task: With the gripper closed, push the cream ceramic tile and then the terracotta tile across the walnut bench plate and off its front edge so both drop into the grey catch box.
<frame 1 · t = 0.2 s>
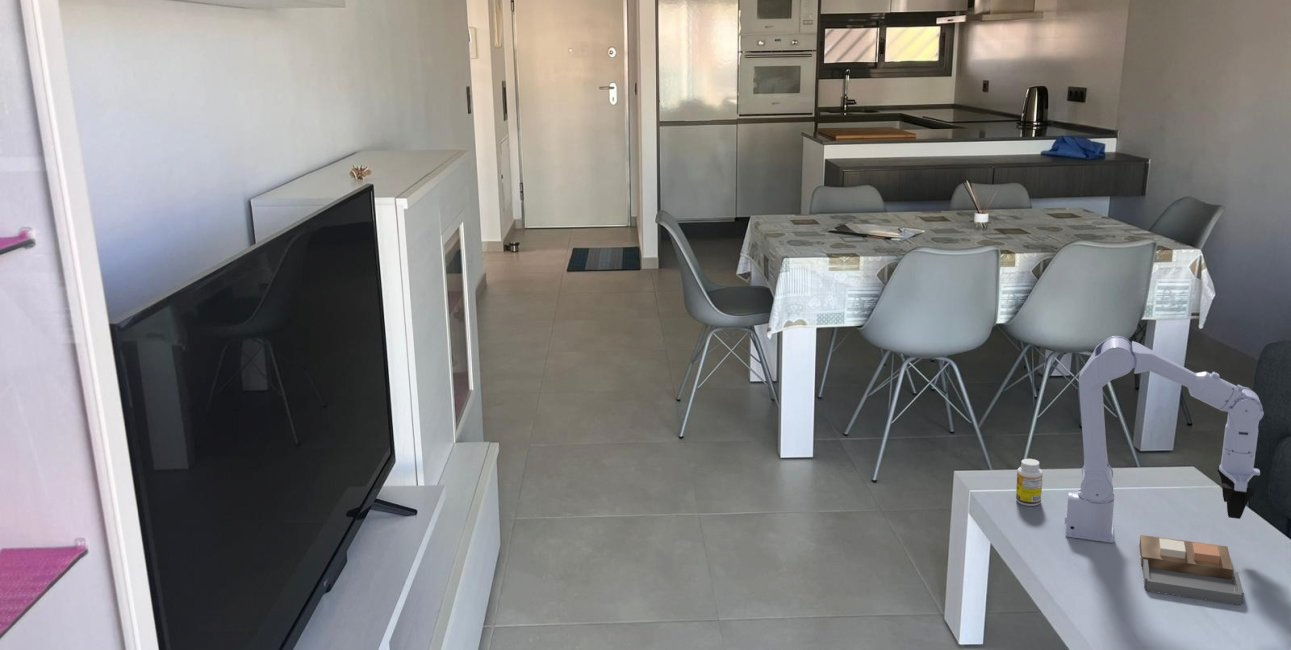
hand: (1231, 509, 200), 10 cm above the table, tool pointing down, fingers open, 7 cm apart
catch box: (1190, 585, 190), on the table
tile terracotta: (1205, 556, 196), point 2 cm above the table, touching bench plate
bench plate: (1183, 562, 199), on the table
supplement bottle: (1028, 502, 229), on the table
tile cream: (1171, 551, 198), point 2 cm above the table, touching bench plate
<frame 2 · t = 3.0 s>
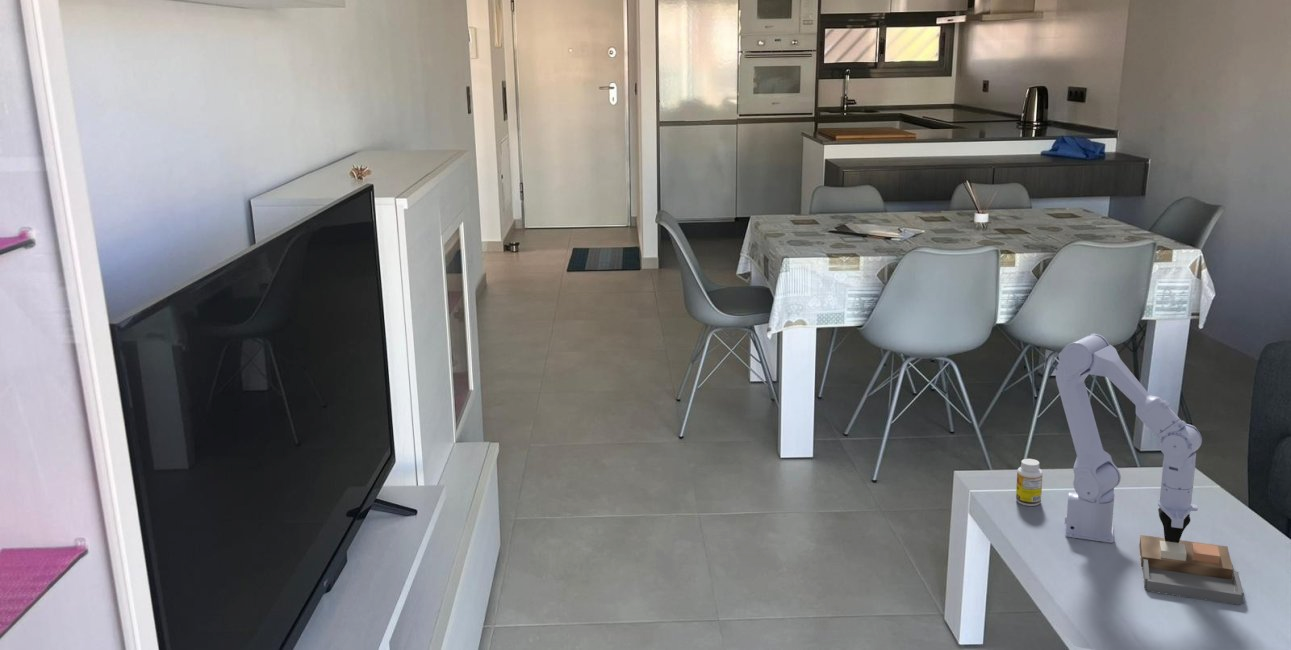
hand: (1171, 544, 200), 3 cm above the table, tool pointing down, fingers closed
tile cream: (1172, 554, 197), point 3 cm above the table
everything else where it was.
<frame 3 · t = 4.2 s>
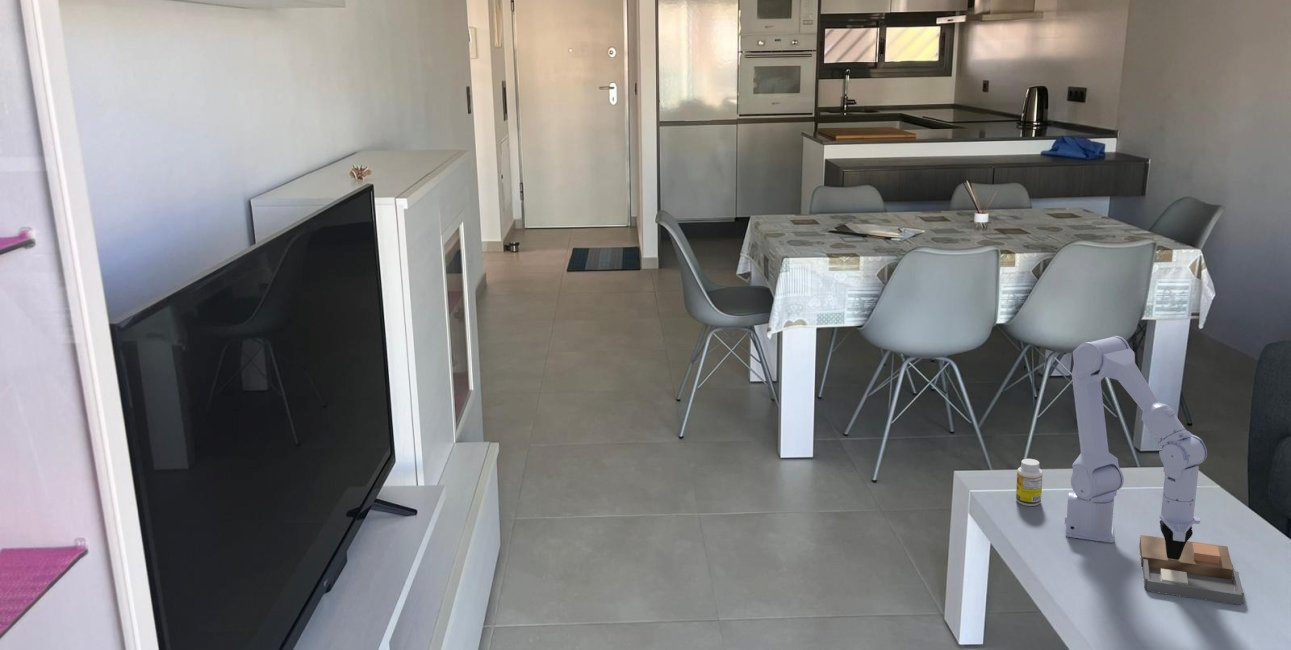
hand: (1172, 557, 195), 3 cm above the table, tool pointing down, fingers closed
tile cream: (1174, 575, 190), point 2 cm above the table, tilted 180°, touching catch box
everything else where it was.
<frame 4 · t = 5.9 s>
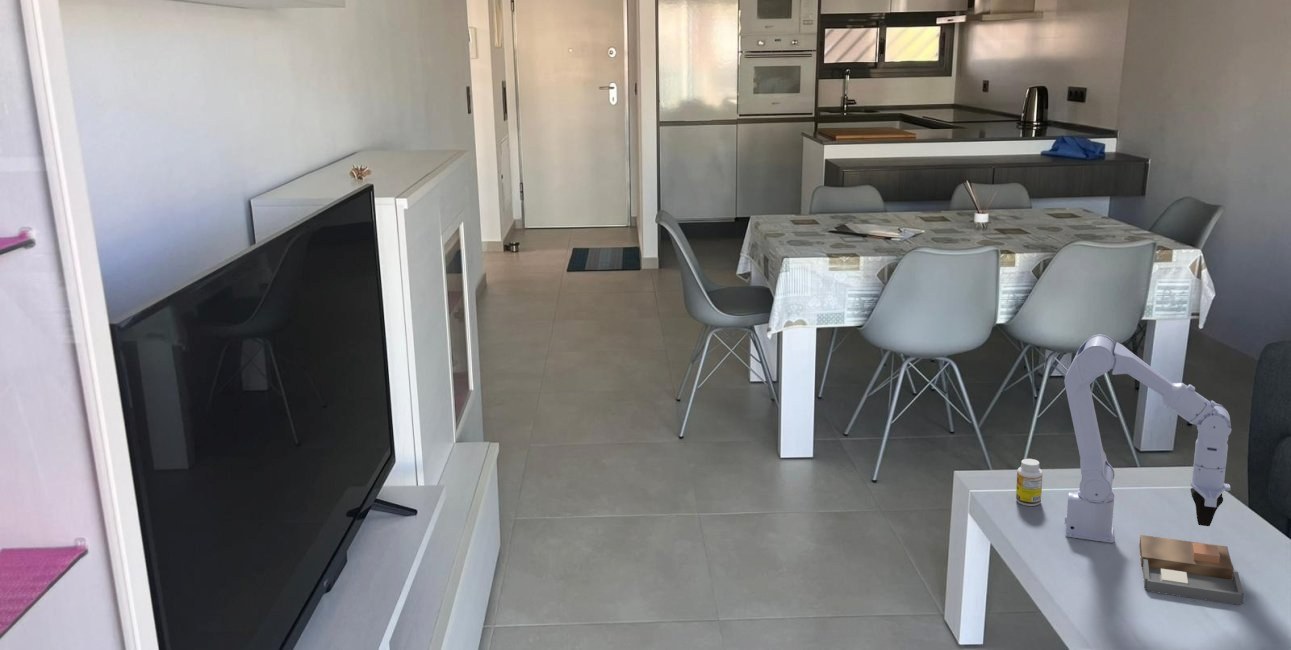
hand: (1203, 524, 201), 6 cm above the table, tool pointing down, fingers closed
nothing on the table moved.
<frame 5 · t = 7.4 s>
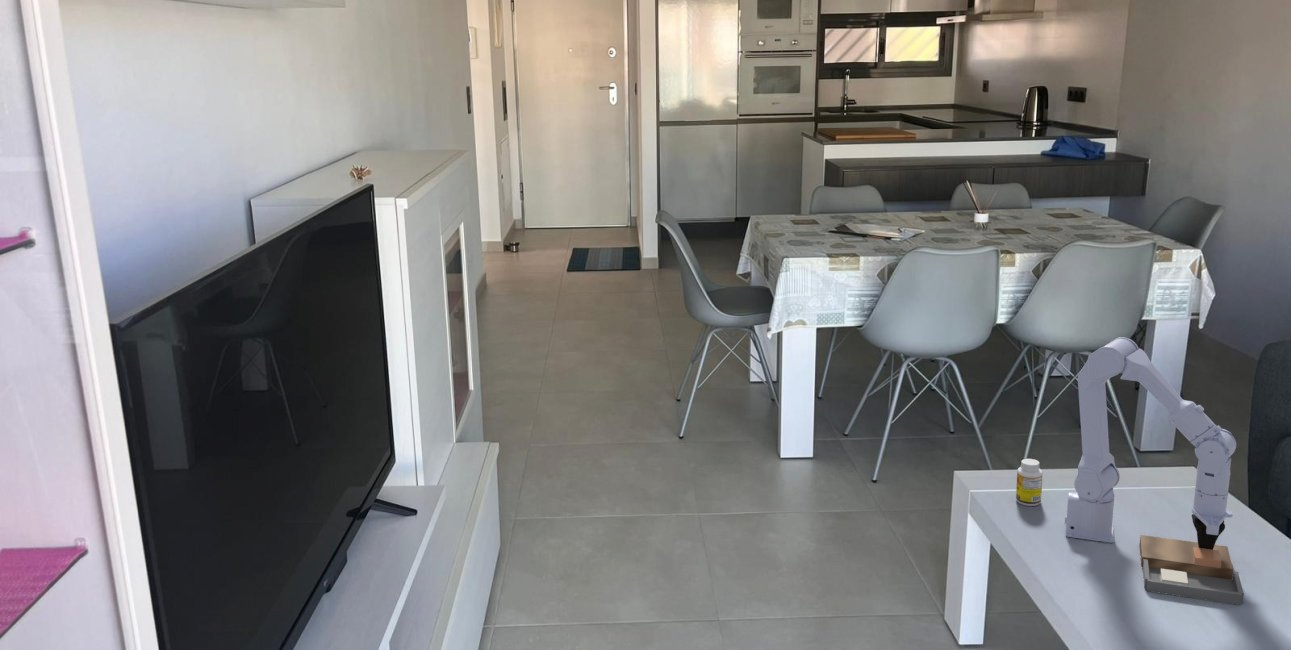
hand: (1204, 551, 197), 3 cm above the table, tool pointing down, fingers closed
tile terracotta: (1206, 561, 194), point 3 cm above the table, touching bench plate
everything else where it was.
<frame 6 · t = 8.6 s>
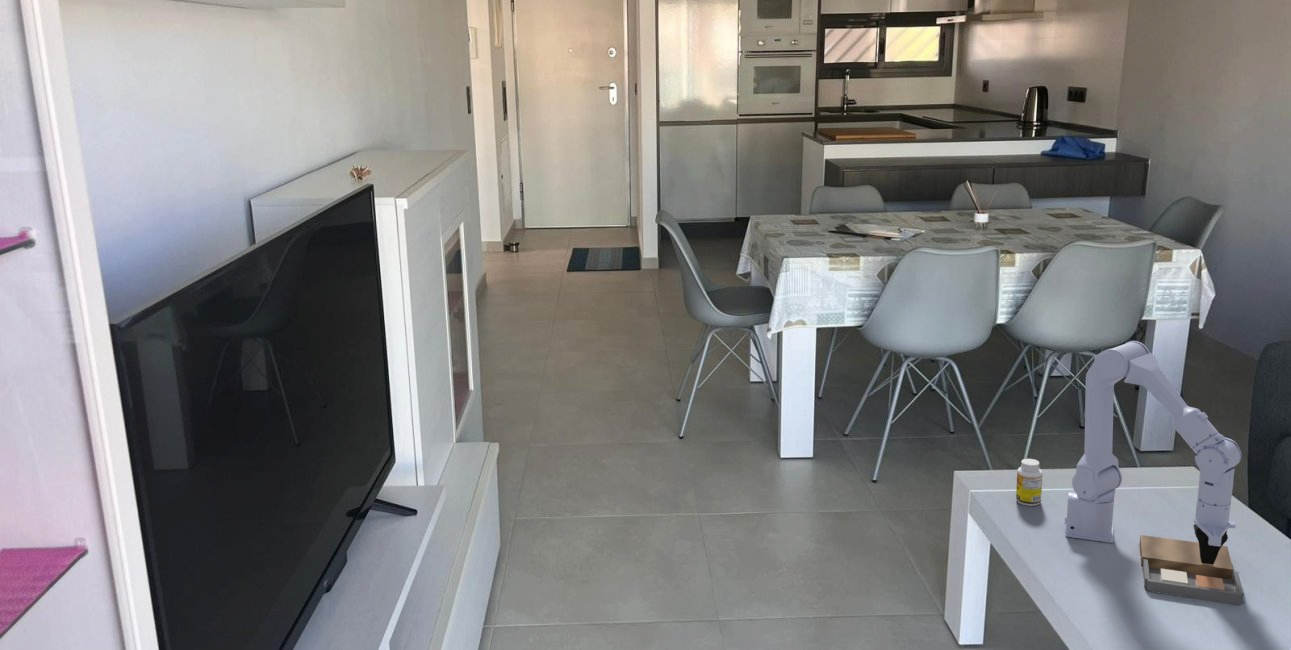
hand: (1207, 562, 193), 3 cm above the table, tool pointing down, fingers closed
tile terracotta: (1210, 582, 187), point 2 cm above the table, tilted 180°, touching catch box
everything else where it was.
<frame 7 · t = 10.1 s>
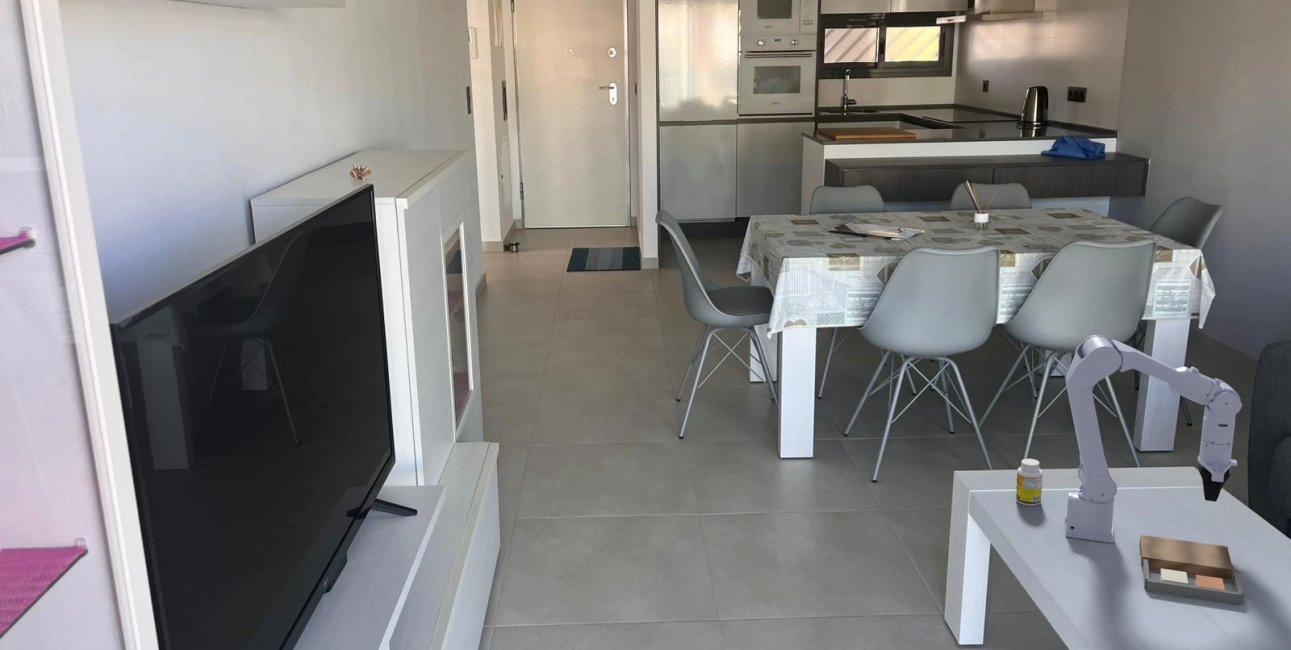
hand: (1210, 499, 205), 9 cm above the table, tool pointing down, fingers closed
nothing on the table moved.
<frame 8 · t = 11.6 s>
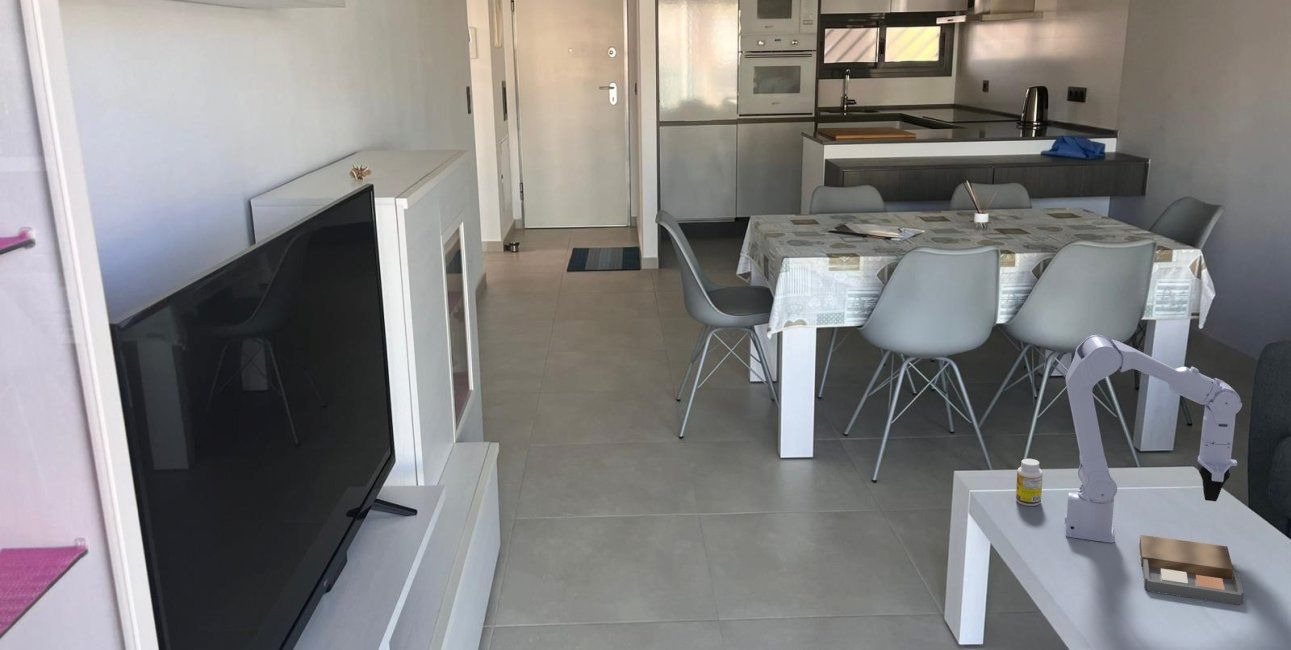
hand: (1210, 499, 205), 9 cm above the table, tool pointing down, fingers closed
nothing on the table moved.
at the end: tile cream inside the target area (3.1 cm from its centre), point 2.0 cm above the table; tile terracotta inside the target area (3.3 cm from its centre), point 2.0 cm above the table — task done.
